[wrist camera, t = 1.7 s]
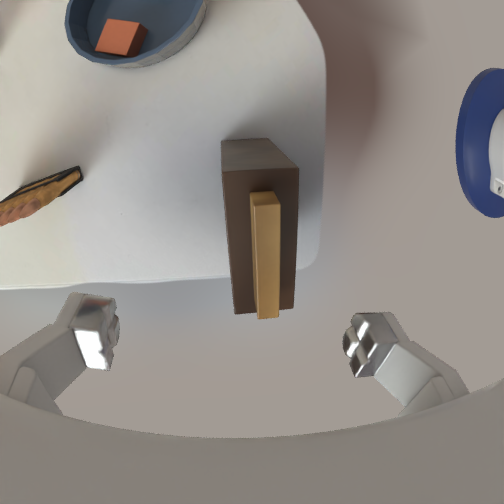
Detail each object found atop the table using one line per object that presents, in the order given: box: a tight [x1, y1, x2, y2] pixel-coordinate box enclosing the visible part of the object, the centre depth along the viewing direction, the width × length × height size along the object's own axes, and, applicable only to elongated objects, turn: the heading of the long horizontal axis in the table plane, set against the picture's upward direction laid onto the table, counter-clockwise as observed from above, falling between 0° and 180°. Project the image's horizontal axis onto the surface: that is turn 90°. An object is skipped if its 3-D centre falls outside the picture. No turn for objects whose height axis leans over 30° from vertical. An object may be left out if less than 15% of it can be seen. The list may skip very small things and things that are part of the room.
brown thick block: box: [221, 138, 299, 314], centre depth 27 cm, size 5×12×13 cm, turn 2°
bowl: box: [65, 0, 207, 68], centre depth 18 cm, size 13×13×5 cm
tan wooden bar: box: [250, 191, 281, 319], centre depth 20 cm, size 2×9×2 cm, turn 2°
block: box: [95, 19, 148, 58], centre depth 20 cm, size 4×4×4 cm
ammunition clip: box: [0, 166, 83, 227], centre depth 23 cm, size 11×2×12 cm, turn 97°
